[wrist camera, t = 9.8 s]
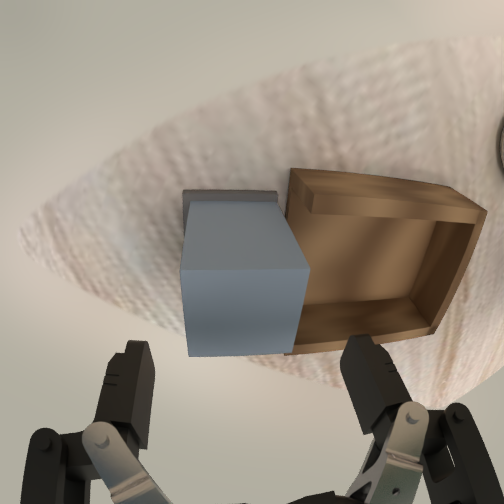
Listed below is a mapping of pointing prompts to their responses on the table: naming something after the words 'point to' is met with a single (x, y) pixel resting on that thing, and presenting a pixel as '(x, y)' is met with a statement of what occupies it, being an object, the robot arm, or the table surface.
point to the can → (502, 147)
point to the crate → (377, 255)
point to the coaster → (224, 197)
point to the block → (241, 279)
